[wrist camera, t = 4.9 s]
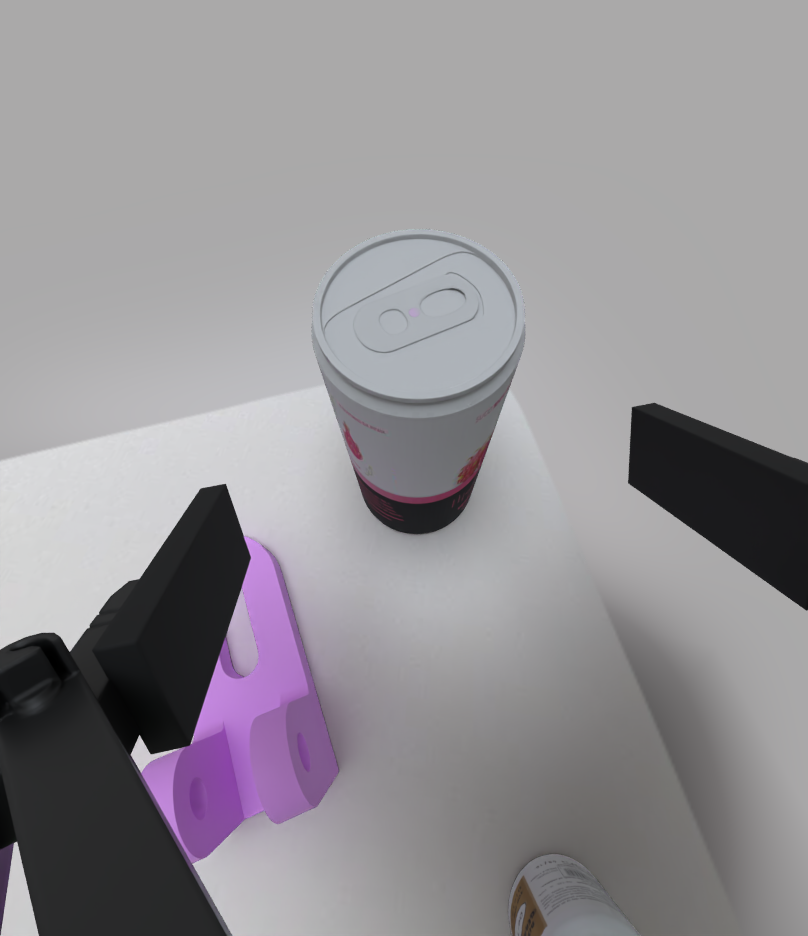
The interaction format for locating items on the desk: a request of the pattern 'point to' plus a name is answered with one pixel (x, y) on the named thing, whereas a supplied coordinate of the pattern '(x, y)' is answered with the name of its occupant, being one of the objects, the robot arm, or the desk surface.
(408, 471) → the beverage can
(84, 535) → the desk surface
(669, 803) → the desk surface
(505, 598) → the desk surface
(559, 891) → the pill bottle
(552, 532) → the desk surface
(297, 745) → the bracket
